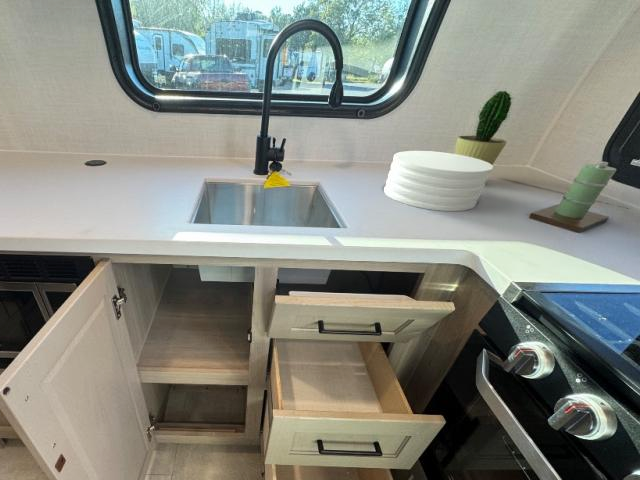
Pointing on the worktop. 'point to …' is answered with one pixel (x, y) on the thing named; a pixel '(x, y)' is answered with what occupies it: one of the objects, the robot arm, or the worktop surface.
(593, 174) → the green ridged cylinder
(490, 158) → the potted cactus
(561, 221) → the walnut board
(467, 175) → the plate stack
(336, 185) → the worktop surface
